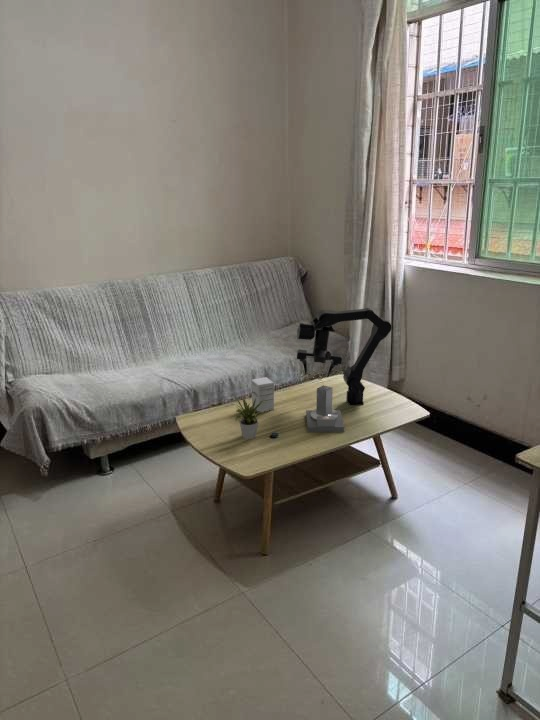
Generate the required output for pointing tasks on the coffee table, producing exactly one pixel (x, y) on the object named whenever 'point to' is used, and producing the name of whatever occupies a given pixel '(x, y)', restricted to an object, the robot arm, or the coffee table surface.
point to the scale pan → (314, 415)
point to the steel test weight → (324, 400)
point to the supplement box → (263, 394)
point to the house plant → (248, 419)
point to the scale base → (324, 429)
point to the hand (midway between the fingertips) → (316, 375)
